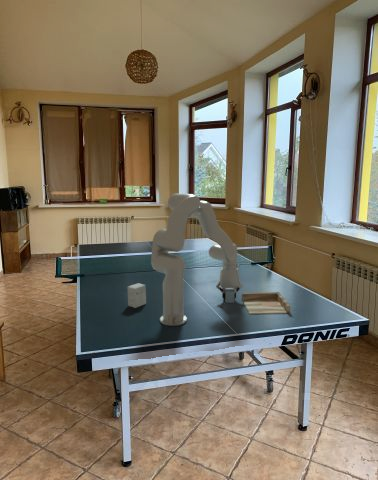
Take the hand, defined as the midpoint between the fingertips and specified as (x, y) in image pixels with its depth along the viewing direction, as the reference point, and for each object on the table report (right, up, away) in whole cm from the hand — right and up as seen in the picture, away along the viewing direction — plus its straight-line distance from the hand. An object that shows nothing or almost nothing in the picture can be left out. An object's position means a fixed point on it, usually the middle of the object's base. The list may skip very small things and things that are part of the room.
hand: (229, 299), depth 202 cm
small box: (-49, -2, -6) cm, 49 cm away
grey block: (0, -1, 0) cm, 1 cm away
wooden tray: (+17, -2, -9) cm, 20 cm away
